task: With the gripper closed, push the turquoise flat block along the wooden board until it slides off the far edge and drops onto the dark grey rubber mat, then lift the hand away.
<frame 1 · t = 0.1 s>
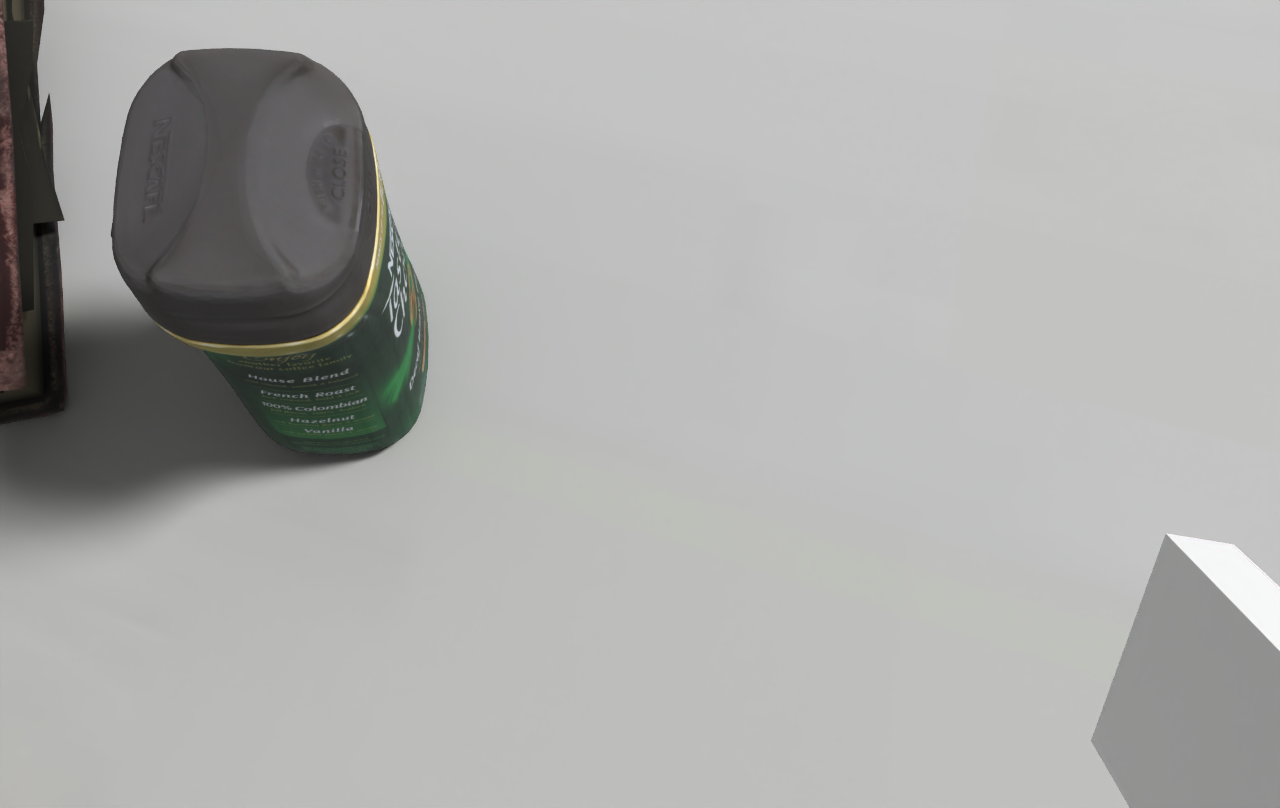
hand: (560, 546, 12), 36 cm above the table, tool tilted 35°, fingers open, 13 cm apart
coffee jar: (349, 358, 50), on the table
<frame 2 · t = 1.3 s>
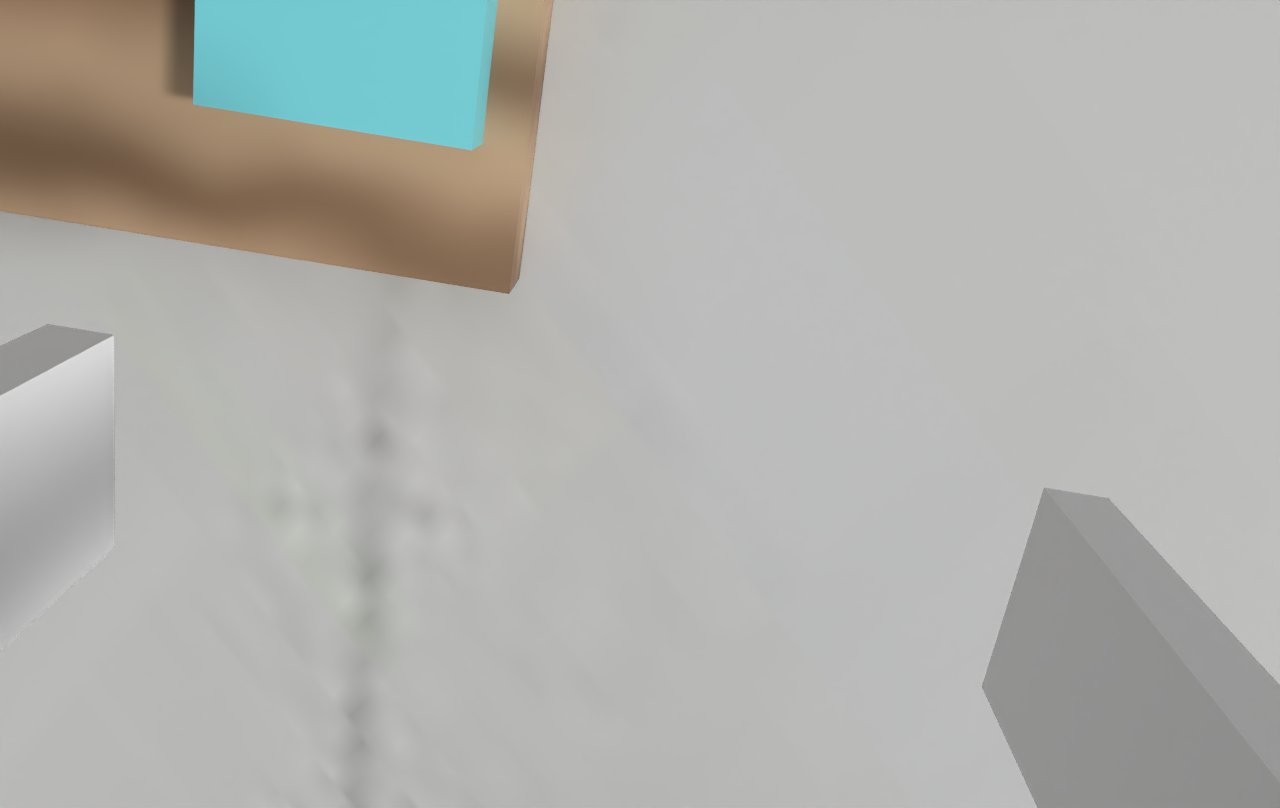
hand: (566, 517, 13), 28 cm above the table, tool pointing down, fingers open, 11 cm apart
wooden board: (207, 1, 37), on the table
turquoise flat block: (356, 29, 35), point 2 cm above the table, touching wooden board
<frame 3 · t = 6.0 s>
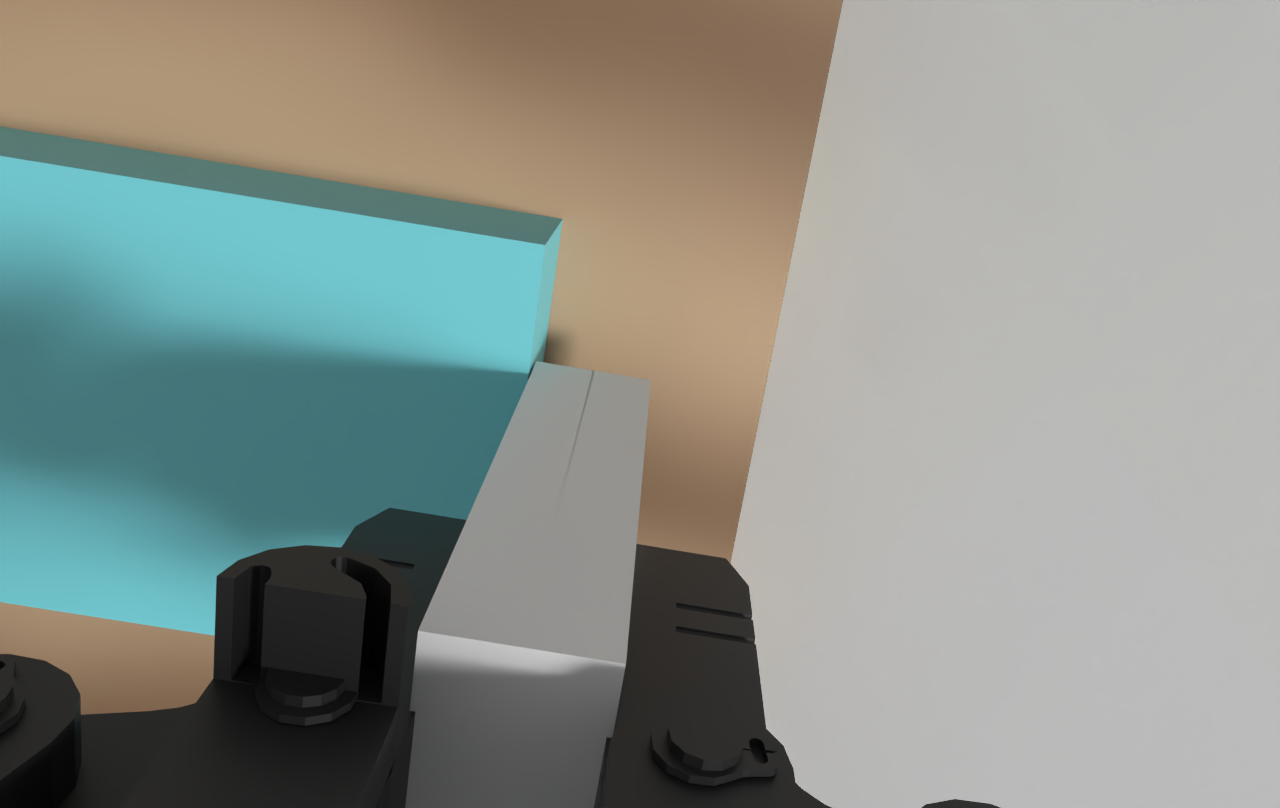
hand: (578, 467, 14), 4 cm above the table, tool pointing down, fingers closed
wooden board: (27, 294, 18), on the table
turquoise flat block: (225, 374, 15), point 3 cm above the table, touching wooden board
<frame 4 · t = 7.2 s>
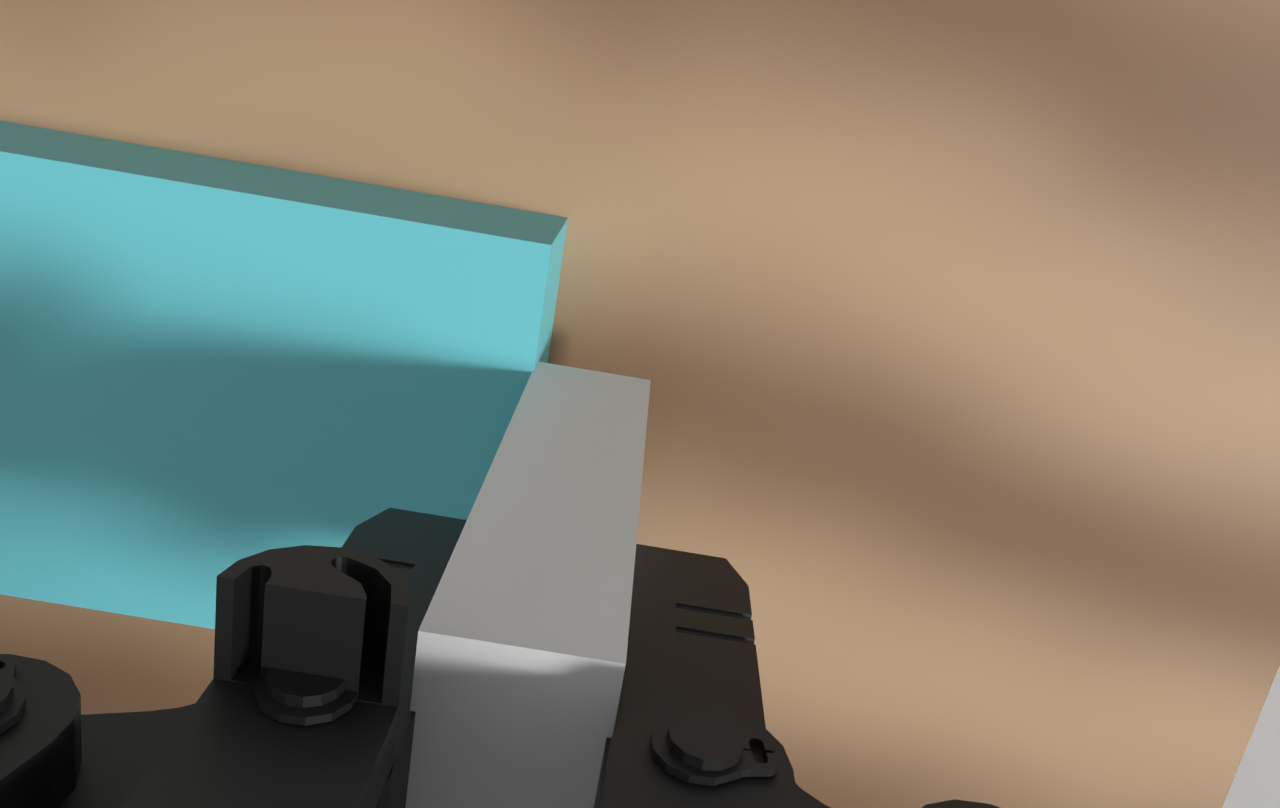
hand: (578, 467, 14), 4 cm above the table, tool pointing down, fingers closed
wooden board: (540, 377, 18), on the table
turquoise flat block: (231, 370, 15), point 3 cm above the table, touching wooden board, gripper
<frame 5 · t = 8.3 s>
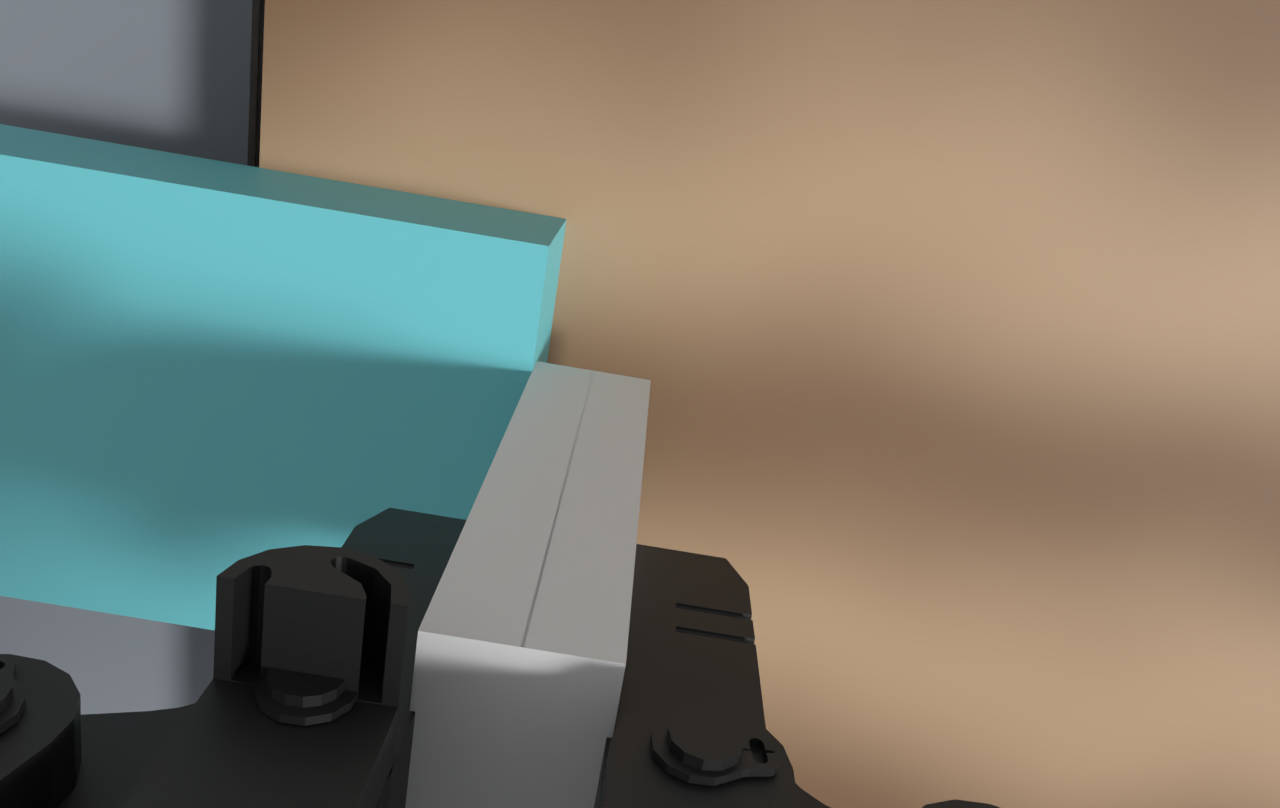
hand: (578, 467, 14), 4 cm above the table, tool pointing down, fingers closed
wooden board: (1012, 450, 18), on the table
turquoise flat block: (231, 372, 15), point 2 cm above the table, touching wooden board
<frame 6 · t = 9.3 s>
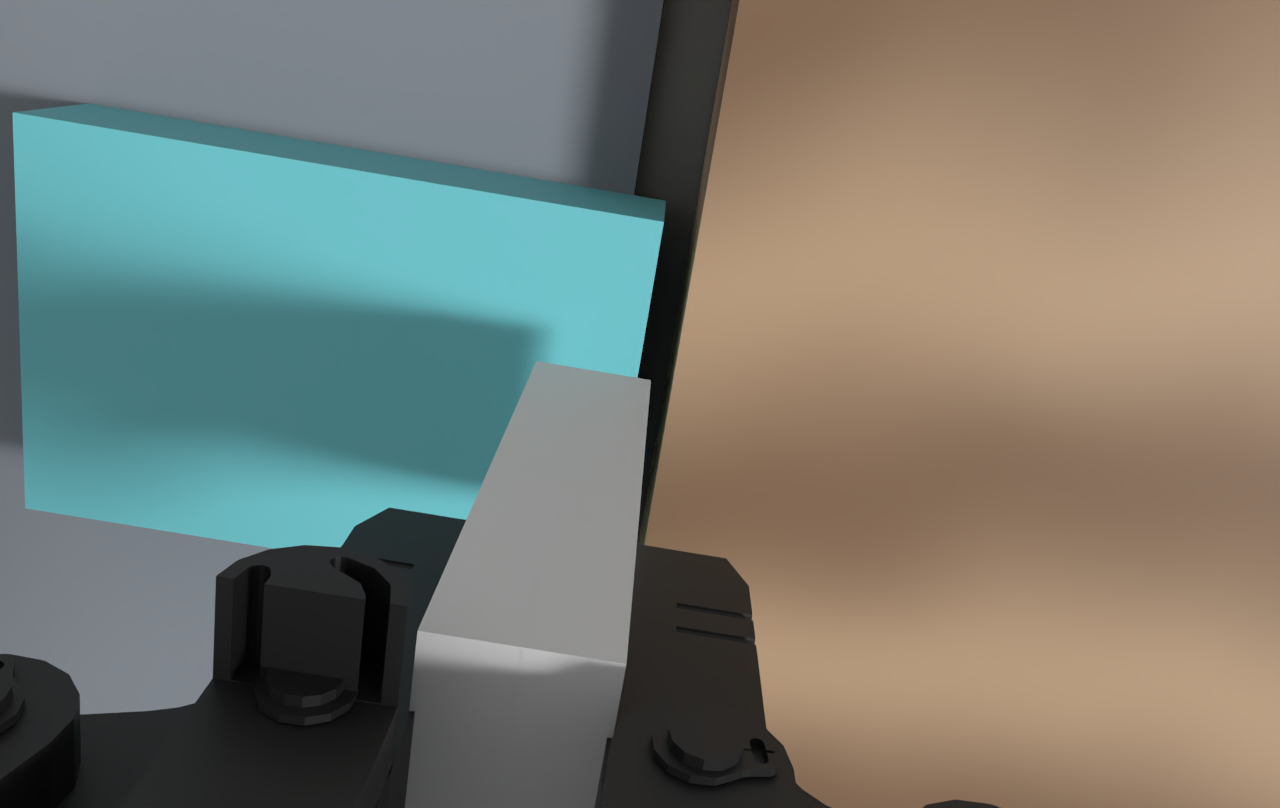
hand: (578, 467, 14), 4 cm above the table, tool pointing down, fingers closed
mat: (160, 312, 18), on the table
turquoise flat block: (364, 336, 18), resting on mat
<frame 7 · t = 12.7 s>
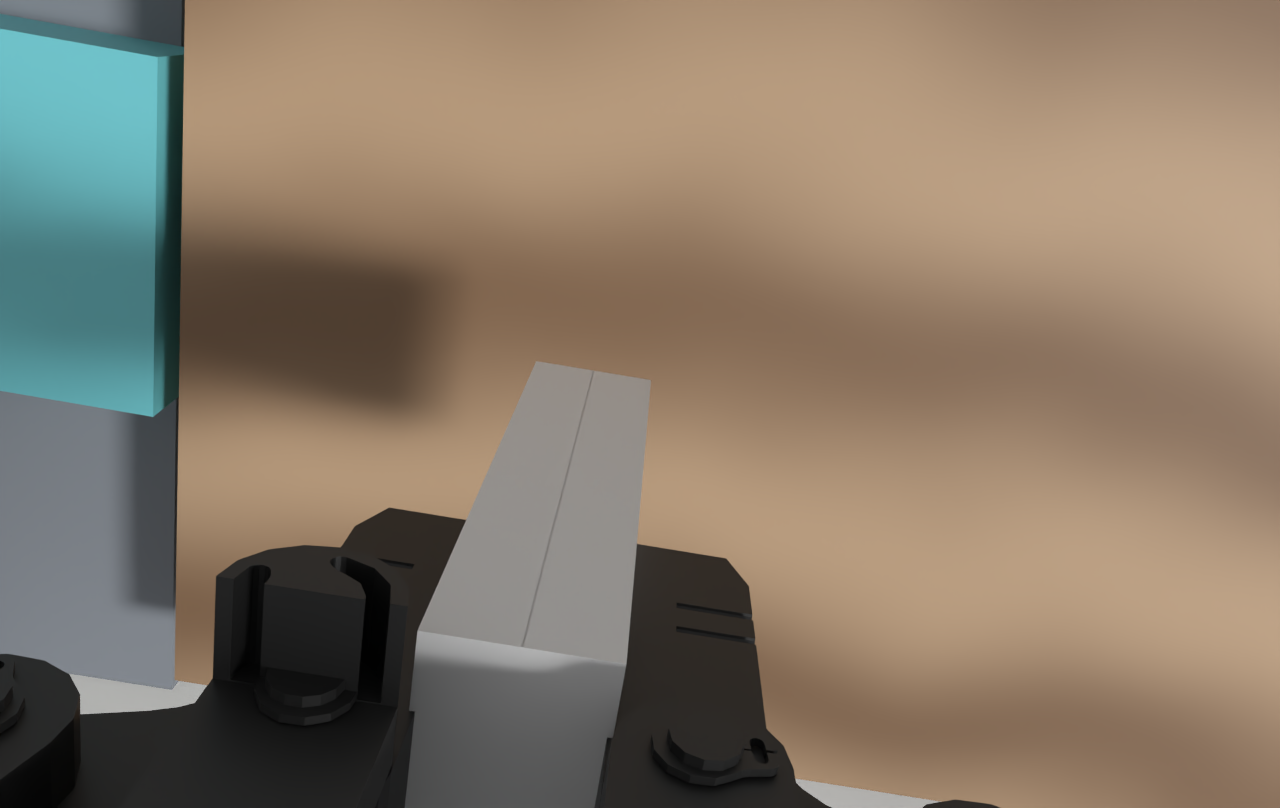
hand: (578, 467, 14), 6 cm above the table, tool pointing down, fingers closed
wooden board: (879, 346, 20), on the table
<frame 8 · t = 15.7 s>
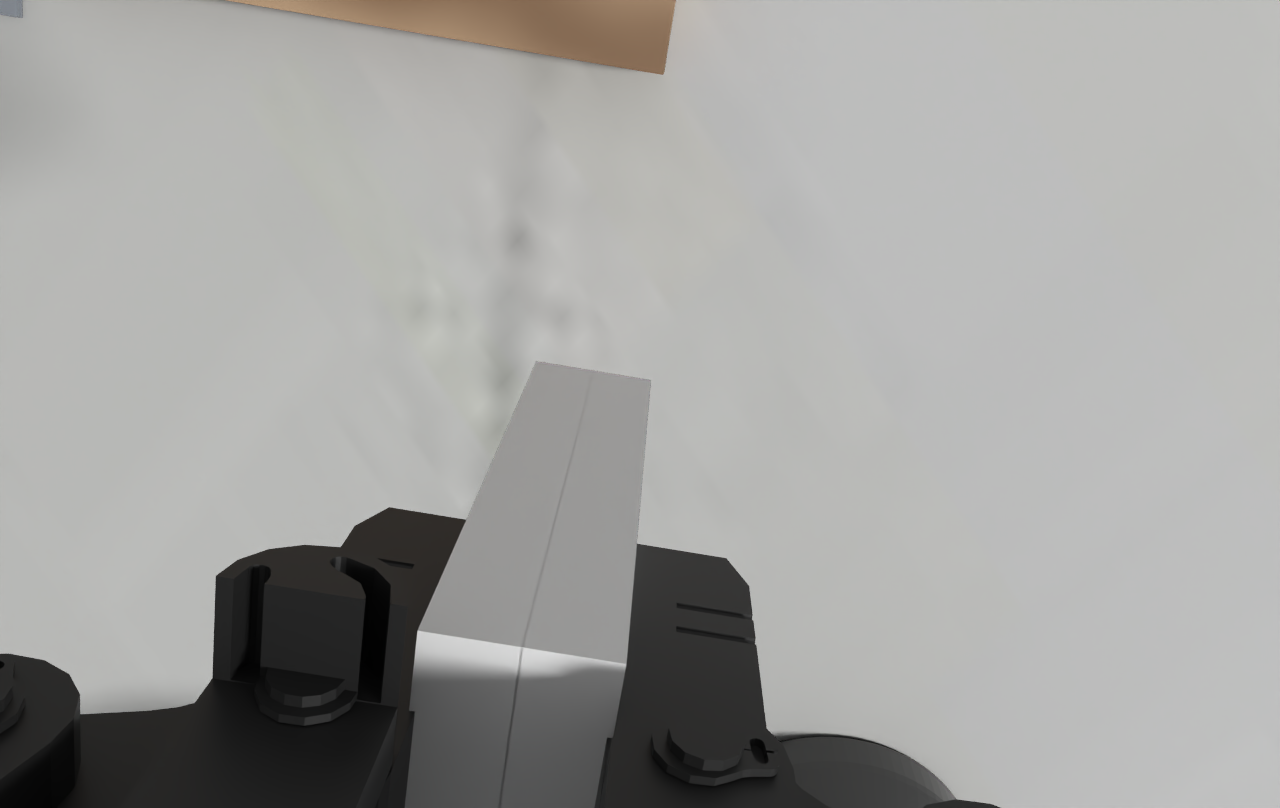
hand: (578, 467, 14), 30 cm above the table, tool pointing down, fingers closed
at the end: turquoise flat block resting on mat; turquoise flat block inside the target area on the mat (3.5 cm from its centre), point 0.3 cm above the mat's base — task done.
